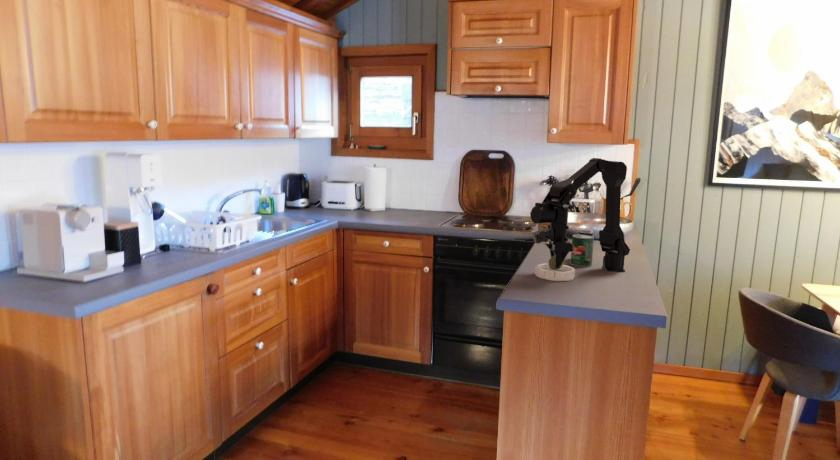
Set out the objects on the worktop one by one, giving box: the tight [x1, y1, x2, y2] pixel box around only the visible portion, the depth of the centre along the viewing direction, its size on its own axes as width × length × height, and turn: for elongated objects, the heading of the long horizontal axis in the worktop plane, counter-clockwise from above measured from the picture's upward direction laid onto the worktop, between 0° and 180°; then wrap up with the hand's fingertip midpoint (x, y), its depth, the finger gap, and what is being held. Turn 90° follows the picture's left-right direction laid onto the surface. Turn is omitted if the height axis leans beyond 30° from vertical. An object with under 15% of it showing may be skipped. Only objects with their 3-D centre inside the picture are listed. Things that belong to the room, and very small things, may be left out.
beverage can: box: [577, 227, 594, 237], centre depth 228 cm, size 6×6×12 cm
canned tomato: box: [570, 233, 595, 268], centre depth 218 cm, size 8×8×11 cm
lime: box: [548, 255, 564, 270], centre depth 198 cm, size 4×5×5 cm
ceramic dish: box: [534, 263, 576, 282], centre depth 199 cm, size 13×13×3 cm
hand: (555, 266), depth 198 cm, fingers closed on lime, 5 cm apart
